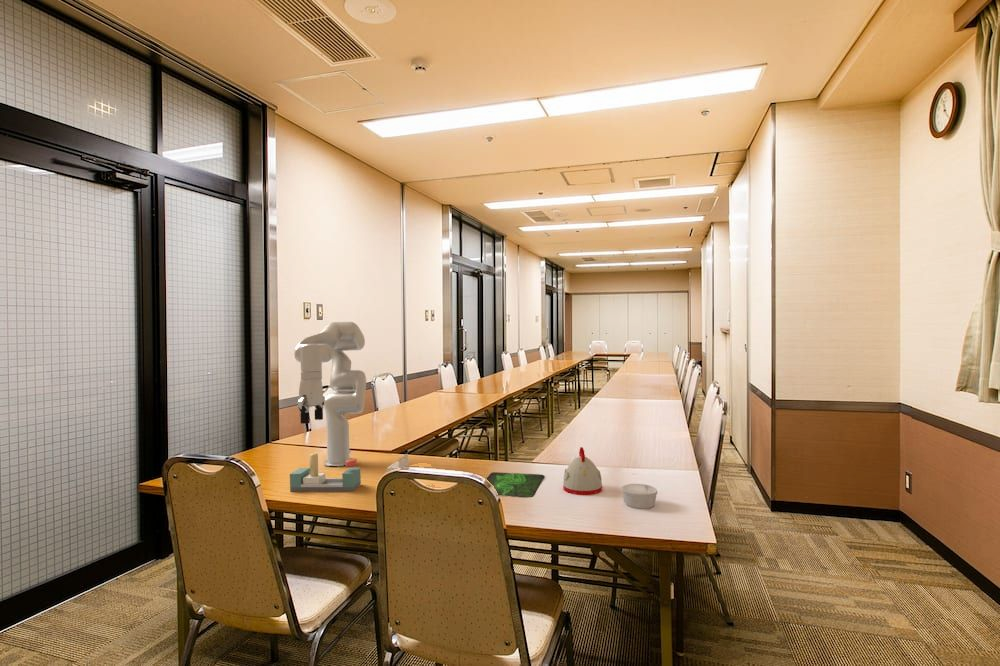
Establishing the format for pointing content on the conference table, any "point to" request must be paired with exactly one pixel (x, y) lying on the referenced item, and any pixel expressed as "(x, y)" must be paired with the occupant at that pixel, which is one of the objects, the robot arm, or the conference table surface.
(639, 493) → the ramekin
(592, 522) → the conference table surface
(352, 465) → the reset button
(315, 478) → the carriage
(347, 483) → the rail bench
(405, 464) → the white angular piece
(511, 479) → the mouse mat
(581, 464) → the kitchen timer
